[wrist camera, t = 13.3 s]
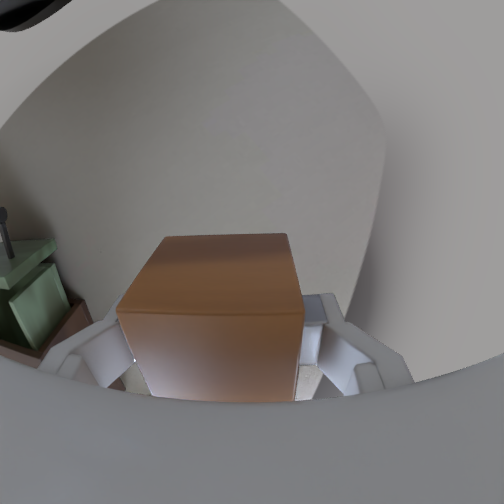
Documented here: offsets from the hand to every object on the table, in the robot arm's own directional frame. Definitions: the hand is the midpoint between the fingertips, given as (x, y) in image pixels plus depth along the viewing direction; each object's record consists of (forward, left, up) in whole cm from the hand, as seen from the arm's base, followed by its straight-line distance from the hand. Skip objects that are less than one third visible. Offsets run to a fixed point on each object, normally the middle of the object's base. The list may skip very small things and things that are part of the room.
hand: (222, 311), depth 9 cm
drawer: (+14, -21, -12) cm, 28 cm away
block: (0, 0, -2) cm, 2 cm away
